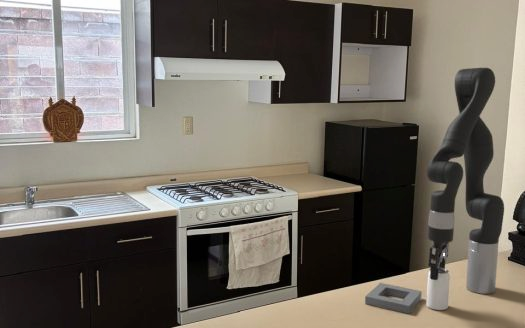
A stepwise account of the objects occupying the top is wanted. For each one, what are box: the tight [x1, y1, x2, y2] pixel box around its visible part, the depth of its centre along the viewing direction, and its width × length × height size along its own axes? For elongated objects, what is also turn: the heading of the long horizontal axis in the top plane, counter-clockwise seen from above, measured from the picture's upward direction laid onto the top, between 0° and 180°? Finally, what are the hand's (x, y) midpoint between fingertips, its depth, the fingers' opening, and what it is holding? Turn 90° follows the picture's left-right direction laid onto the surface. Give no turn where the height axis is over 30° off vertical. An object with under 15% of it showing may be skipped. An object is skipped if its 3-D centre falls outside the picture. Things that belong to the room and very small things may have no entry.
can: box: [425, 267, 451, 312], centre depth 166 cm, size 6×6×12 cm
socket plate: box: [364, 282, 423, 315], centre depth 171 cm, size 14×14×2 cm
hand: (437, 275), depth 165 cm, fingers open, 8 cm apart
